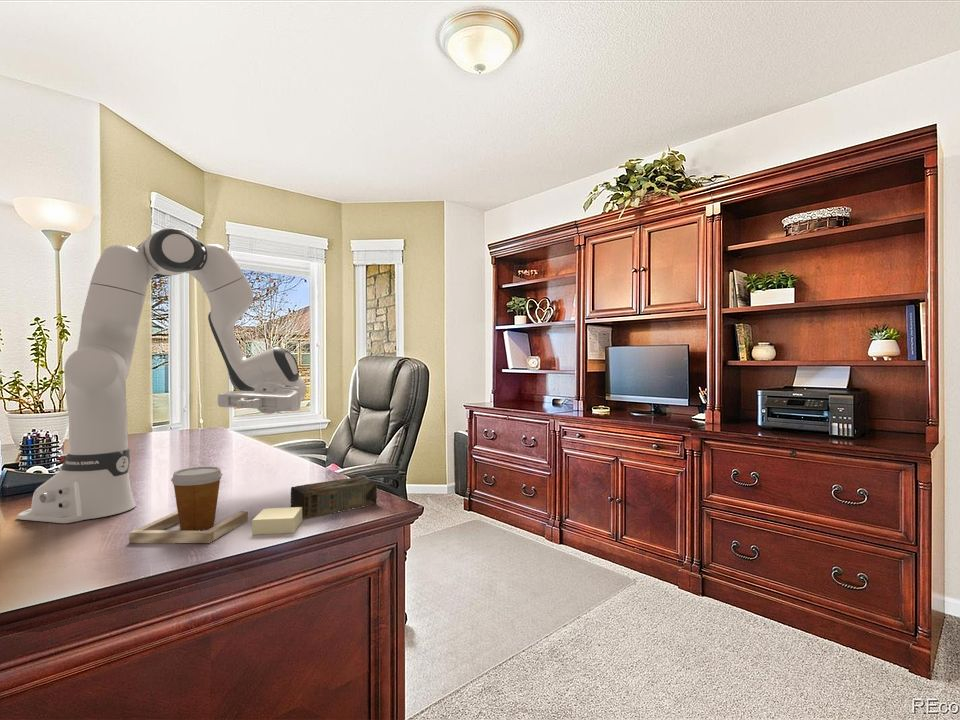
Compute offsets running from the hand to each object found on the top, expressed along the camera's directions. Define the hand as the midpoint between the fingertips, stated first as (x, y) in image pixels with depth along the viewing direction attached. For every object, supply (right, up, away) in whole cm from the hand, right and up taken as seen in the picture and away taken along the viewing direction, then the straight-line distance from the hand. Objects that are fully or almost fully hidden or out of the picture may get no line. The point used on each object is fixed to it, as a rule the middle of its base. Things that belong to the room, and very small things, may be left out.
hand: (242, 404), depth 125 cm
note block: (+17, -24, -19) cm, 35 cm away
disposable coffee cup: (-1, -25, -19) cm, 31 cm away
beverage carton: (+25, -25, -5) cm, 35 cm away
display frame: (0, -24, -20) cm, 32 cm away
